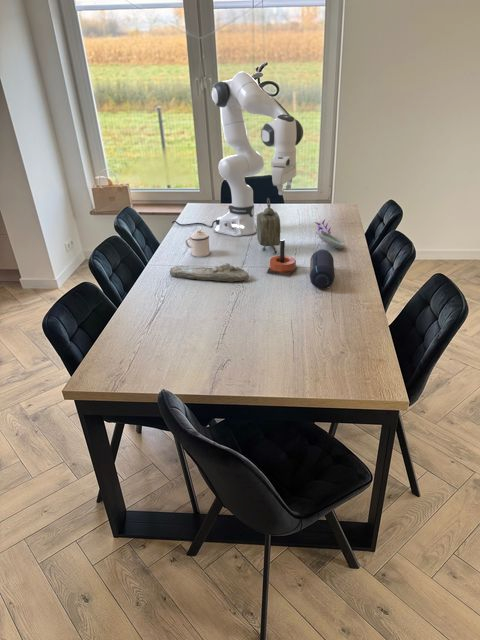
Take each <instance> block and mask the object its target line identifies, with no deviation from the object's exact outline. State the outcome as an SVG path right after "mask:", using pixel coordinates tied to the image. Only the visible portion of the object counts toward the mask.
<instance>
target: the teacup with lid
mask: <svg viewBox="0 0 480 640" xmlns="http://www.w3.org/2000/svg"><path fill="white" fill-rule="evenodd" d="M209 235H210V234H209V233H207V232H204V231H202V230H201V229H197V230H196V231H195V232H193V233H190V235H189V237H187V238H186V239H185V240H184V243H185V246H186V247H187V248H189V249H191V255H192V256H193V257H196V258H204V257H207V256H209V255H210V253H211V252H210V251H211V250H210V236H209ZM188 241H190V245H189V243H188Z"/></svg>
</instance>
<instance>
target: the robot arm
mask: <svg viewBox="0 0 480 640" xmlns="http://www.w3.org/2000/svg"><path fill="white" fill-rule="evenodd" d="M211 98H212V102H213V104H214V105H215V106H216V107H218V108H220V119H221V125H222V131H223V136H224V142H225V143H226V145H227V146H229V147H231V148H232V149H233V150H234V151H235V154H233V155H228V156H226V157H224V158H222V159H220V161H218V166H217V168H218V173H219V175H220V176H221V178H222V179H224V180H225V181H226V182H227V184H228V186H229V189H230V193H231V204H229V205H228V207H227V210H229V211H228V212H227V213H225V214H224V215H223V216H219V217H217V218H216V219H215V220H213V221H212V223H211V225H210V226H209V225H207V224H206V223H203V222H192V223H185V224H183V223H180V222H178V221H176V220H173V221H171V224H174V223H176V224H177V225H179V226H181V227H185V226H186V227H187V226H192V225H202V226H204V227H209V228H213V227H214V224H215V225H216V227H215V228H214V232H215V233H220V234H223V235H229V236H232V237H241V236H250V235H253V234H255V233H257V225H256V222H255V221H256V220H255V204H254V190H253V188H252V187H251V186H250V185H249V184H247V183H246V180H245V178H246V177H252V176H256V175H258V174H259V173H261V172H262V171H263V170H264V166H265V161H264V158H263V156H262V155H261V154H260V153H259V152H258V151H256V149H254V147H253V145H252V144H251V142H250V139H249V136H248V132H247V127H246V121H245V117H244V113H243V110H244V111H245V112H247V113H248V114H251V115H259V116H266V117H270V118H272V119H273V120H272V121H270V122H266V123H265V124H264V125H263V126H262V128H261V131H260V139H261V142H262V143H263V144H264V146H266V147H269V148H274V155H273V157H272V159H271V161H270V166H271V167H272V168H271V178H272V179H271V181H272V185H273V187H276V188H277V191H278V195H279V196H283V195H284V189H283V188H284V184H286V185H285V189H286V190H287V191H289V190H291V189H292V183H293V179H294V178H295V177H297V148H296V146H298V145H299V144H300V143H301V141H302V140H303V137H304V128H303V126H302V124H301V123H300V121H299V120H298V119H296V118H295V117H294V116H293V115H291V114H290V113H289V112H288V111H287V110H286V109H285V108H284V107H283V105H282V104H281V103H280V102H279V101H277V100H276V98H274V97H273V96H270V94H268V93H267V92H266V91H264V90H263V89H262V88H261V87H260V85H259V84H258V82H257V81H256V80H255V79H254V77H252V75H250V74H249V73H248V72H246V71H239V72H236V74H235V75H233V77H232V79H228V80H223V81H222V80H221V81H218V82H215V83H214V84H213V85H212V88H211Z"/></svg>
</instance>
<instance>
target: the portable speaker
mask: <svg viewBox="0 0 480 640" xmlns="http://www.w3.org/2000/svg"><path fill="white" fill-rule="evenodd" d="M309 262H310V265H309V277H310V278H309V279H310V283H311V284H312V286H314V287H315V288H316V289H319V290H325V289H329V288H331V286H332V285H333V284H334V281H335V278H336V276H335V275H336V274H335V263H334V256H333V255H332V253H331V252H330V251H329V250H327V249H324V248H323V249H318V250H316V251H314V252H313V253H312V255H311V257H310V261H309Z"/></svg>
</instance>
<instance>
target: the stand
mask: <svg viewBox="0 0 480 640" xmlns="http://www.w3.org/2000/svg"><path fill="white" fill-rule="evenodd" d="M285 245H286V240H285V239H283V238H280V245H279V256H280V263H284V260H285V253H286V250H285V249H286V246H285ZM295 270H297V267H296V268H295V269H294V270H291V271H288V272H278V271H274V270H272V269H271V268H270V267H269V268H268V269H267V274H270V275H275V276H276V275H277V276H284V277H290V276H291V275H292V274H293V273H294V272H295Z"/></svg>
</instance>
